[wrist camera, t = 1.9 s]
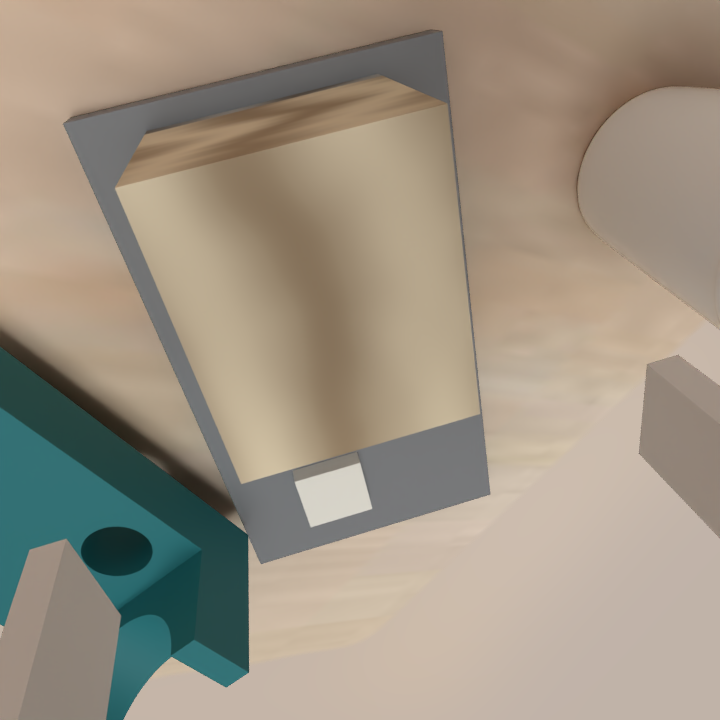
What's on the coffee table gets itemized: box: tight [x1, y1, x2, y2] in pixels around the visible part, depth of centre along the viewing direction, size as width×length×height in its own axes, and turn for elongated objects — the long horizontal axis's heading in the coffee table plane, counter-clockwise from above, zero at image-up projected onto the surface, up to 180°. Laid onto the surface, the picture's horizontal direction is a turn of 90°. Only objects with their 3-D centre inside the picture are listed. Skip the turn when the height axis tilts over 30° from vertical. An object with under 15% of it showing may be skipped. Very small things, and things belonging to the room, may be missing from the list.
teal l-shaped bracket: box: [0, 347, 249, 720], centre depth 29 cm, size 18×11×10 cm, turn 36°
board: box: [63, 30, 490, 564], centre depth 32 cm, size 16×28×2 cm, turn 11°
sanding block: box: [115, 74, 480, 484], centre depth 24 cm, size 10×12×9 cm
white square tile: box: [293, 452, 372, 527], centre depth 36 cm, size 4×4×1 cm
